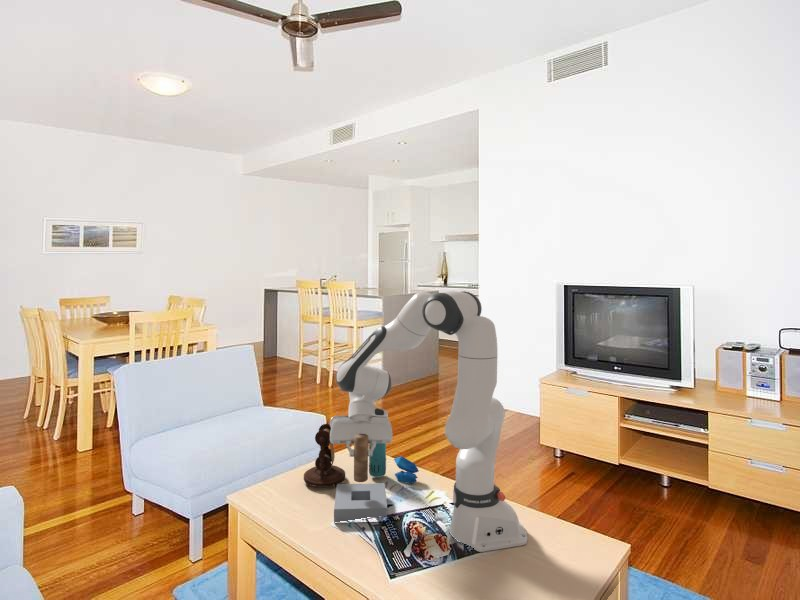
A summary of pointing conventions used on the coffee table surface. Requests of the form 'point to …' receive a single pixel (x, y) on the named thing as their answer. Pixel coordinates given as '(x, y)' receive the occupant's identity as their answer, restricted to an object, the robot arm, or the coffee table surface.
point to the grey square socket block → (359, 501)
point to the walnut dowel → (360, 457)
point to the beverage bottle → (378, 460)
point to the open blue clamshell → (407, 466)
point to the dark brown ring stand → (324, 463)
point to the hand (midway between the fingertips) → (361, 455)
